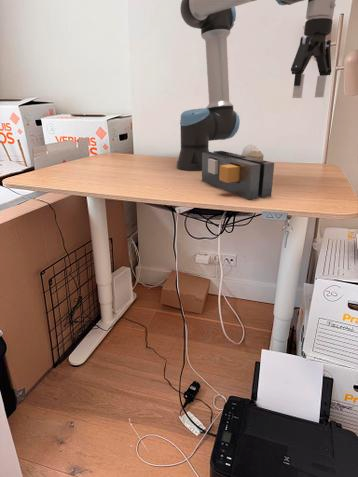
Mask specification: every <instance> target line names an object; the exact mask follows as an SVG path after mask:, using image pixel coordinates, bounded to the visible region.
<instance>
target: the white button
mask: <svg viewBox="0 0 358 477" xmlns="http://www.w3.org/2000/svg"><path fill="white" fill-rule="evenodd" d="M218 162H219V159H216V158H212V159H208V172H209V173H212V174H218Z"/></svg>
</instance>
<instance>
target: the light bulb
mask: <svg viewBox="0 0 358 477" xmlns="http://www.w3.org/2000/svg"><path fill="white" fill-rule="evenodd" d="M251 151H256V152H258V151H260V150H259V149H258V147H257V145H255V144H253V143H251V144H247V145H246V146H244V147H243V149H242V151H241V155H243V156H247V157H248V154H249V153H250V152H251Z"/></svg>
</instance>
